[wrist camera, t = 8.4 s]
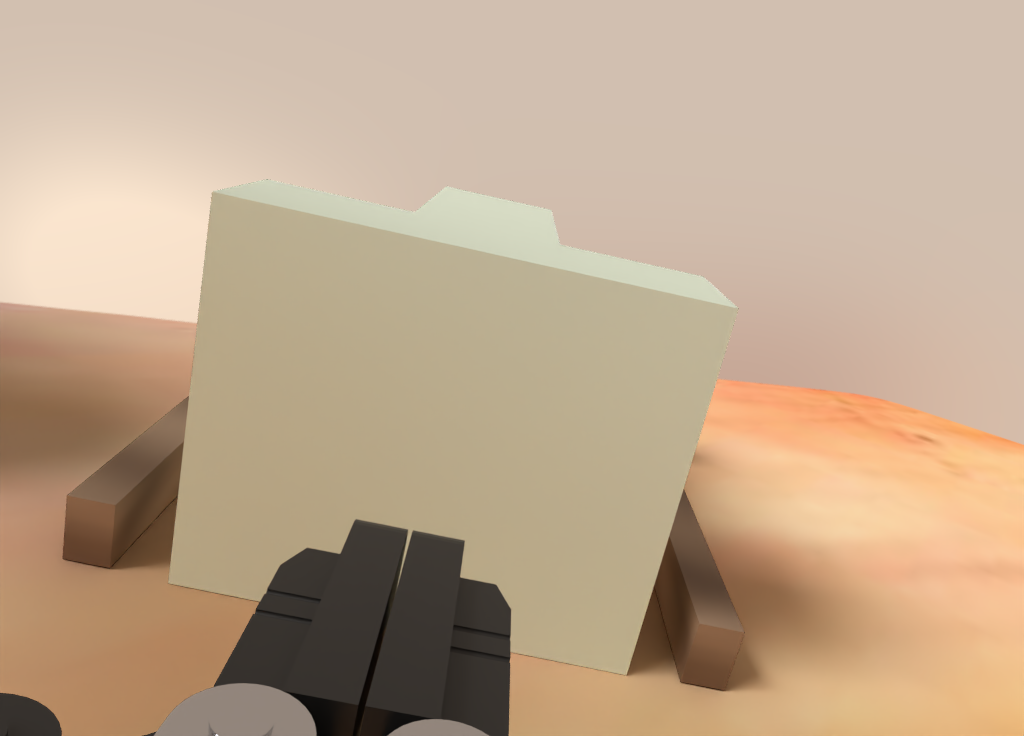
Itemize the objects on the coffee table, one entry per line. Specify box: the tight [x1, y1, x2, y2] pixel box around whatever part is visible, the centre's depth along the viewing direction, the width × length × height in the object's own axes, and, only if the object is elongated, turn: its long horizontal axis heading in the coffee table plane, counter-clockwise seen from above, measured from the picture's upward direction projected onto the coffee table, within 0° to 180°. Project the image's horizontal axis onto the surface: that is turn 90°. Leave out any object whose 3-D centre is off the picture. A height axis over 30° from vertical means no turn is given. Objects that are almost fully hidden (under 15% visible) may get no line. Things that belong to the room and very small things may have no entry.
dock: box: [63, 396, 745, 690], centre depth 29 cm, size 16×17×4 cm
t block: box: [168, 179, 739, 675], centre depth 26 cm, size 13×12×10 cm
